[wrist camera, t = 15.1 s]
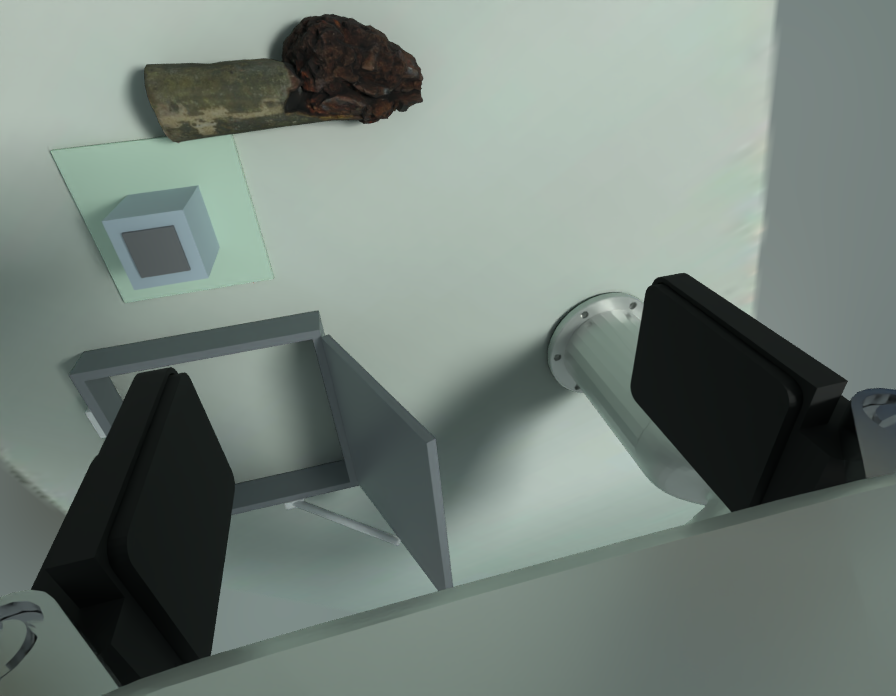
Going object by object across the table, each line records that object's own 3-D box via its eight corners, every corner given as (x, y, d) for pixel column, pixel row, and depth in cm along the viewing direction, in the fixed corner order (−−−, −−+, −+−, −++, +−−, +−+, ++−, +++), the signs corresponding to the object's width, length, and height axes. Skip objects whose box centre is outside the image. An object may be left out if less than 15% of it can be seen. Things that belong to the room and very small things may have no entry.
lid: (321, 337, 44) (330, 333, 44) (358, 483, 54) (365, 479, 55) (426, 443, 32) (437, 437, 33) (447, 603, 43) (455, 597, 43)
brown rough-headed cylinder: (180, 137, 37) (162, 153, 32) (144, 28, 33) (117, 29, 29) (418, 112, 40) (432, 123, 35) (408, 9, 36) (423, 6, 31)
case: (355, 304, 47) (367, 375, 38) (386, 462, 59) (402, 546, 49) (76, 353, 43) (13, 445, 34) (169, 511, 55) (142, 612, 46)
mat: (230, 128, 37) (230, 129, 37) (274, 276, 44) (273, 278, 44) (52, 149, 35) (50, 150, 35) (126, 300, 42) (124, 302, 42)
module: (198, 185, 38) (182, 211, 33) (219, 247, 41) (207, 279, 36) (127, 194, 37) (100, 222, 32) (154, 257, 40) (132, 292, 35)
